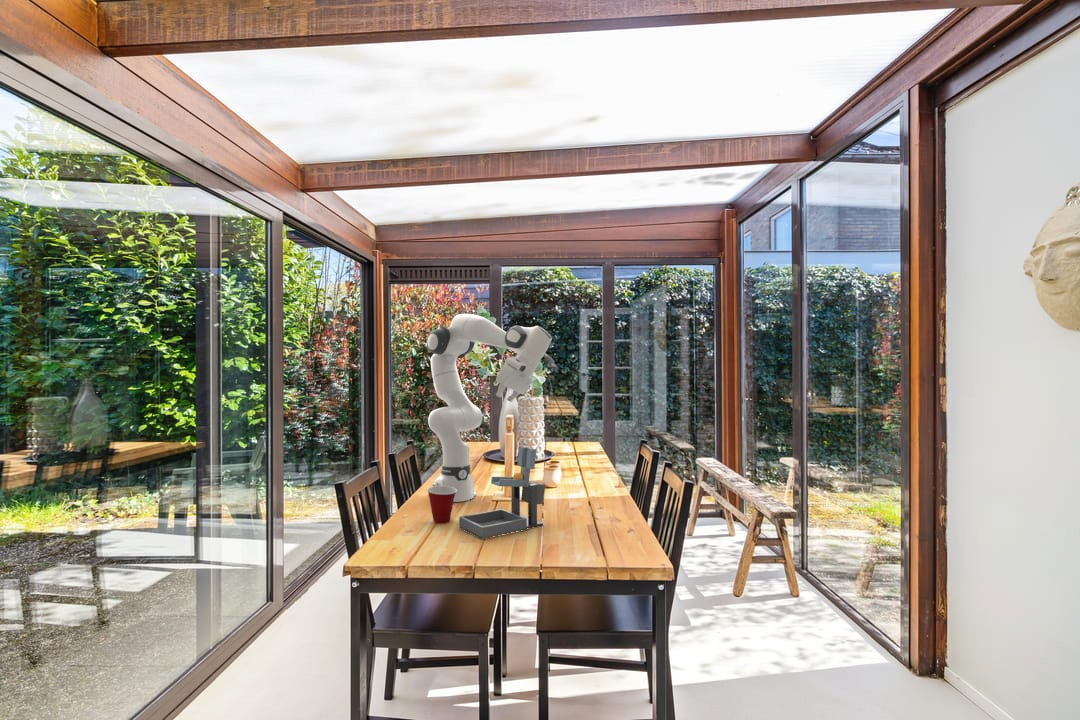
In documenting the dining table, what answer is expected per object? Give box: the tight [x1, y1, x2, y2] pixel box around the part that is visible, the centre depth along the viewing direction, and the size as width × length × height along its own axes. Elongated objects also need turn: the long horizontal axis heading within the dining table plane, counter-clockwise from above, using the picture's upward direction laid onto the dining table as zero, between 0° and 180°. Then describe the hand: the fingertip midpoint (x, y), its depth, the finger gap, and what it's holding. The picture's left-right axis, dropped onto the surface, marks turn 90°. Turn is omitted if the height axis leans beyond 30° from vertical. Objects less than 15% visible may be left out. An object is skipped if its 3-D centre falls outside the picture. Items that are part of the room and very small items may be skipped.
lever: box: [490, 446, 546, 505], centre depth 210 cm, size 8×19×20 cm, turn 125°
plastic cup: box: [426, 486, 457, 524], centre depth 214 cm, size 11×11×12 cm
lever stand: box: [510, 484, 544, 529], centre depth 211 cm, size 14×7×15 cm, turn 35°
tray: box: [458, 508, 528, 540], centre depth 204 cm, size 16×18×4 cm
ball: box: [512, 472, 523, 479], centre depth 210 cm, size 4×4×4 cm
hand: (503, 398), depth 219 cm, fingers open, 8 cm apart
